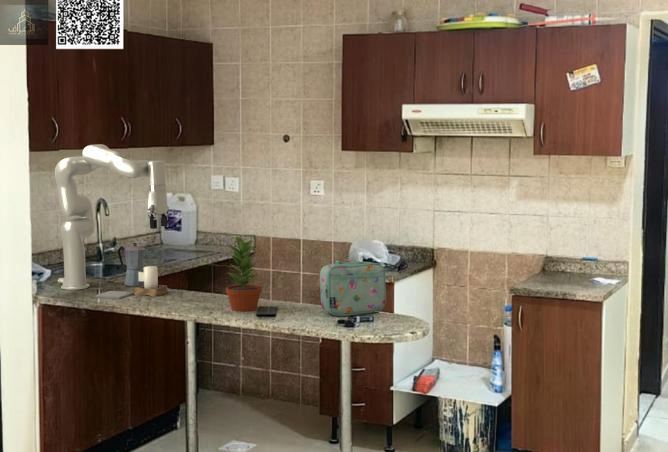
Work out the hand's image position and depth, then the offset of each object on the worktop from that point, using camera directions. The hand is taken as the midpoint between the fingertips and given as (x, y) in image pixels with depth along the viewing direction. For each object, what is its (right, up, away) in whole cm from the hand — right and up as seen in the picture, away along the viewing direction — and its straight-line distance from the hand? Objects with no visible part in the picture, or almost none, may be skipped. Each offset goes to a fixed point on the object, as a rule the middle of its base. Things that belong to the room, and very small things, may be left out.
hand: (159, 227), depth 438 cm
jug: (-5, -29, +3) cm, 30 cm away
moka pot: (-16, -27, +25) cm, 40 cm away
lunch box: (+85, -34, -43) cm, 101 cm away
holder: (-4, -29, +2) cm, 30 cm away
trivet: (-19, -30, -2) cm, 36 cm away
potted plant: (+41, -33, -33) cm, 62 cm away
